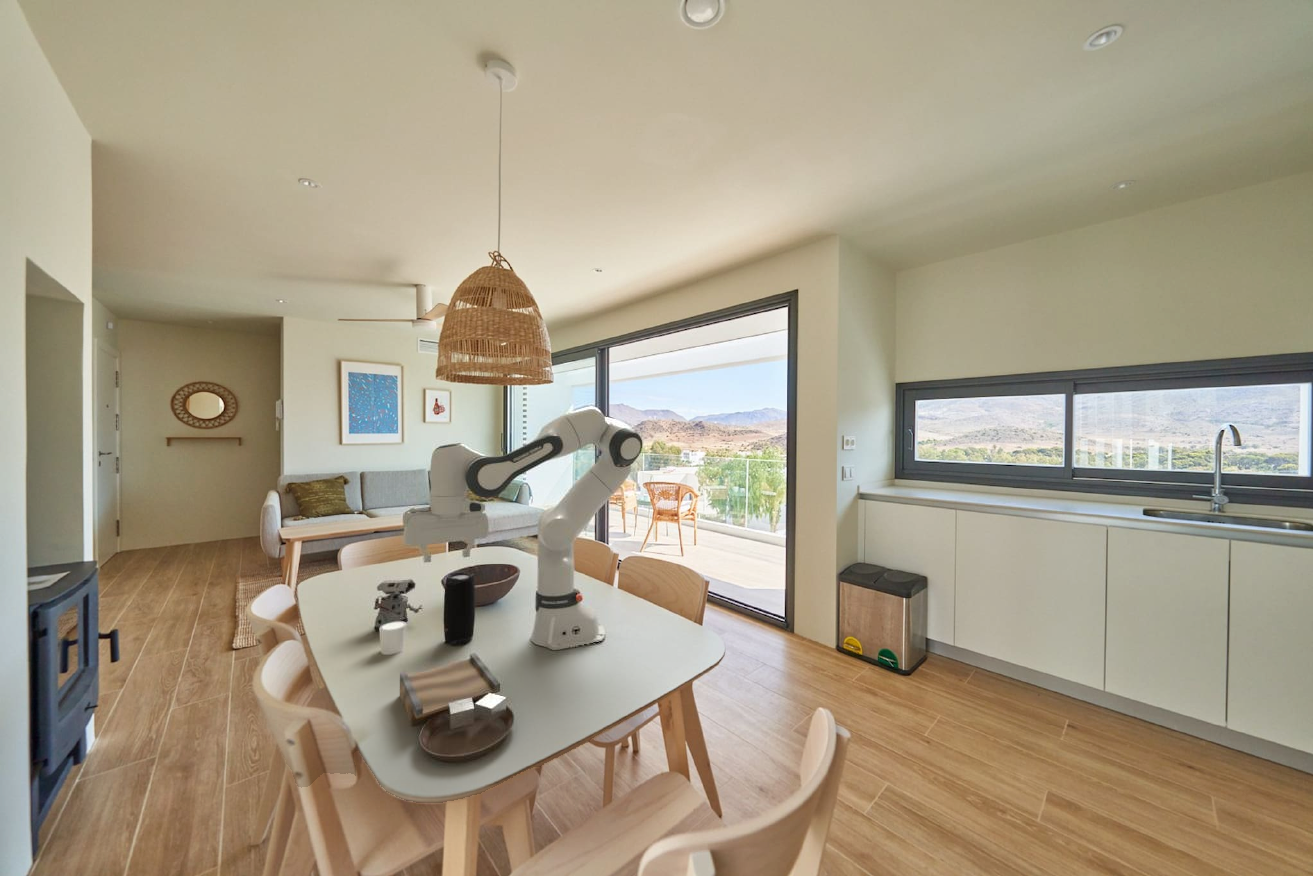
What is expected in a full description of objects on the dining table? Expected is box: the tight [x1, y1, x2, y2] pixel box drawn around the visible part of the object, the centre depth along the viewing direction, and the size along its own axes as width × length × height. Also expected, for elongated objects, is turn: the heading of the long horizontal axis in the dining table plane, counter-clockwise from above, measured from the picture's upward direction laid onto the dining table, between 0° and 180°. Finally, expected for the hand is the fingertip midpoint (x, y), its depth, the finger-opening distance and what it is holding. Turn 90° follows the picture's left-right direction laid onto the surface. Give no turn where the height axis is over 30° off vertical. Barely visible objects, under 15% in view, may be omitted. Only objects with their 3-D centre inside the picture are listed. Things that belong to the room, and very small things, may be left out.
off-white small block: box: [449, 697, 474, 729], centre depth 94 cm, size 4×4×3 cm
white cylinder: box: [378, 621, 408, 656], centre depth 130 cm, size 7×7×7 cm
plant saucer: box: [418, 700, 515, 763], centre depth 92 cm, size 18×18×3 cm
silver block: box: [474, 693, 507, 723], centre depth 96 cm, size 4×4×3 cm
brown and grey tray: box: [399, 652, 501, 726], centre depth 105 cm, size 18×17×5 cm
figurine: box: [373, 579, 423, 632], centre depth 145 cm, size 9×12×15 cm
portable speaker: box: [443, 571, 476, 647], centre depth 137 cm, size 9×9×20 cm
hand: (447, 559), depth 118 cm, fingers open, 8 cm apart
